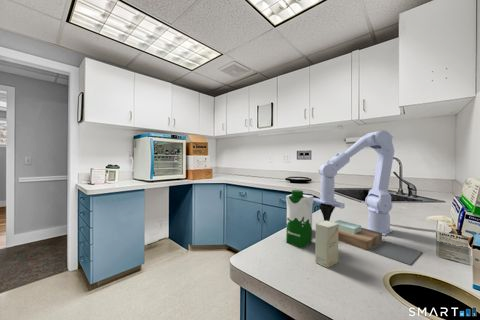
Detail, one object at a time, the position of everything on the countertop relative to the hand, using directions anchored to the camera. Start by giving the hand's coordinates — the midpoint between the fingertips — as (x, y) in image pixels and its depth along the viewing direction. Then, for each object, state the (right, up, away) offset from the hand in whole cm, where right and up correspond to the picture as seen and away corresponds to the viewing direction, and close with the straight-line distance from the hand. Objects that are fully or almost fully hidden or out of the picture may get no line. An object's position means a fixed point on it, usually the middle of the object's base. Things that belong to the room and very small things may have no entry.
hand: (326, 221), depth 90 cm
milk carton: (-16, -4, -13) cm, 21 cm away
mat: (+15, -5, -20) cm, 26 cm away
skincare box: (-12, -5, -28) cm, 30 cm away
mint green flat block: (+5, -1, -7) cm, 9 cm away
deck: (+7, -4, -9) cm, 12 cm away
